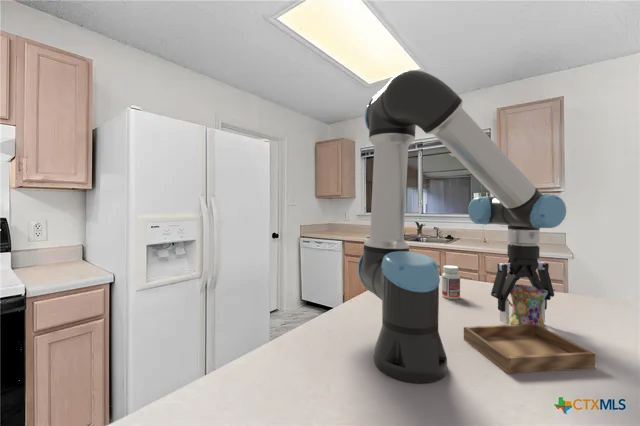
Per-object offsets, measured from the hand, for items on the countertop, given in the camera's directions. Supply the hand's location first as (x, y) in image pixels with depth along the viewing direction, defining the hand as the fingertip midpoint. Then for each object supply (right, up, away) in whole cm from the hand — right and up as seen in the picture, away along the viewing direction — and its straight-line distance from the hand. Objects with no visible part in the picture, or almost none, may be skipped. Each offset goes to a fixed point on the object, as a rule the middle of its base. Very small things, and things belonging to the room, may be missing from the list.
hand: (522, 321), depth 85 cm
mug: (0, -1, 0) cm, 1 cm away
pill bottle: (-9, 0, +25) cm, 27 cm away
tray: (-11, -1, -16) cm, 19 cm away
